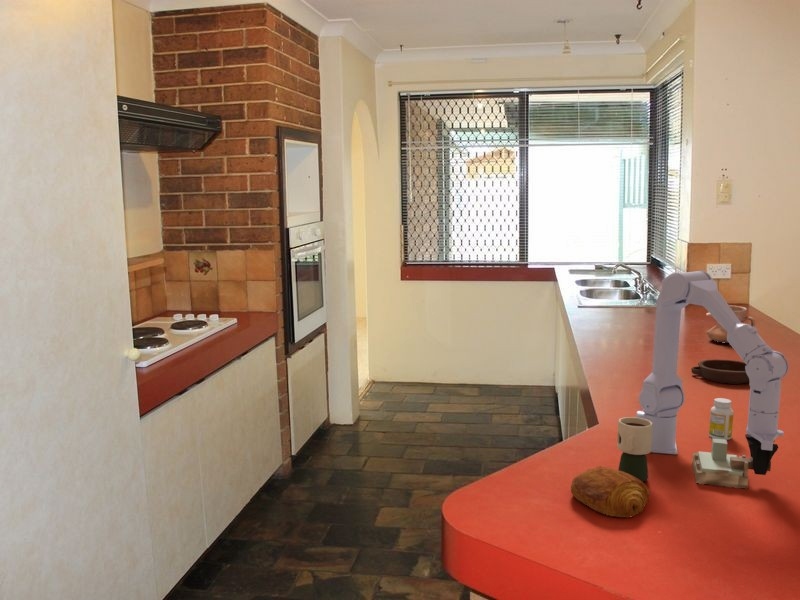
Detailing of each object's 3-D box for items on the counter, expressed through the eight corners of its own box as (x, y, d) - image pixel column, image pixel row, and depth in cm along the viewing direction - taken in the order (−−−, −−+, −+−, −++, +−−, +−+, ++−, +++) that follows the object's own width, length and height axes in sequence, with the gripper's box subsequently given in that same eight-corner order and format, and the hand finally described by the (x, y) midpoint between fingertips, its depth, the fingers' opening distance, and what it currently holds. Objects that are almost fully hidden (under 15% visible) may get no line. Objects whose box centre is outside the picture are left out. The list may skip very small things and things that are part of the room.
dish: (766, 390, 234) (767, 374, 234) (689, 383, 243) (690, 368, 242) (763, 376, 250) (764, 362, 250) (691, 370, 259) (692, 356, 258)
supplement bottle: (715, 441, 188) (717, 403, 187) (704, 433, 194) (707, 397, 192) (736, 440, 189) (738, 403, 187) (724, 433, 194) (727, 396, 193)
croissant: (604, 535, 143) (609, 498, 141) (557, 493, 157) (561, 459, 155) (664, 520, 149) (670, 484, 147) (614, 481, 163) (618, 447, 160)
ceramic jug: (702, 343, 300) (705, 308, 297) (705, 336, 312) (708, 302, 310) (752, 349, 292) (756, 312, 289) (753, 341, 305) (756, 306, 302)
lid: (701, 471, 162) (703, 450, 161) (697, 454, 172) (699, 434, 171) (742, 476, 160) (744, 454, 159) (736, 458, 170) (737, 437, 169)
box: (696, 483, 162) (697, 459, 161) (692, 463, 173) (693, 440, 172) (747, 489, 159) (749, 464, 158) (739, 468, 170) (741, 445, 169)
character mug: (622, 468, 171) (624, 412, 169) (654, 474, 167) (657, 417, 165) (609, 485, 161) (612, 426, 159) (644, 491, 158) (647, 431, 156)
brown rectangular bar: (731, 467, 161) (731, 458, 161) (729, 463, 163) (730, 454, 163) (770, 471, 159) (771, 462, 159) (768, 467, 161) (769, 458, 161)
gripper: (791, 421, 151) (786, 486, 153) (778, 401, 164) (773, 461, 166) (752, 418, 153) (748, 482, 155) (743, 398, 166) (739, 458, 168)
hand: (758, 471), depth 161 cm, fingers closed on brown rectangular bar, 2 cm apart
